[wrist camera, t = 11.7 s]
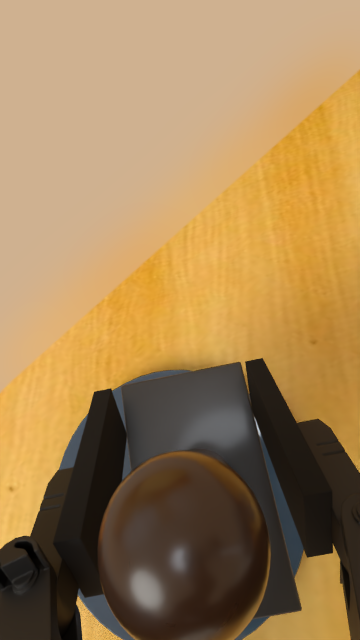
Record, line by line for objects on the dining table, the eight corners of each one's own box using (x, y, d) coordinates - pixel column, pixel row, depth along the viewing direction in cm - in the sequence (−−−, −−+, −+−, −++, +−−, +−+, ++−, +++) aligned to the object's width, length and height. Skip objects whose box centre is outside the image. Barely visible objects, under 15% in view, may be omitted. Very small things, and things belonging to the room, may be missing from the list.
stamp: (131, 391, 19) (-10, 314, 7) (237, 370, 19) (276, 254, 7) (160, 608, 16) (-17, 1162, 4) (289, 584, 15) (543, 1090, 3)
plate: (187, 329, 29) (186, 324, 28) (358, 508, 24) (365, 512, 23) (16, 479, 27) (8, 481, 26) (164, 719, 21) (161, 735, 20)
